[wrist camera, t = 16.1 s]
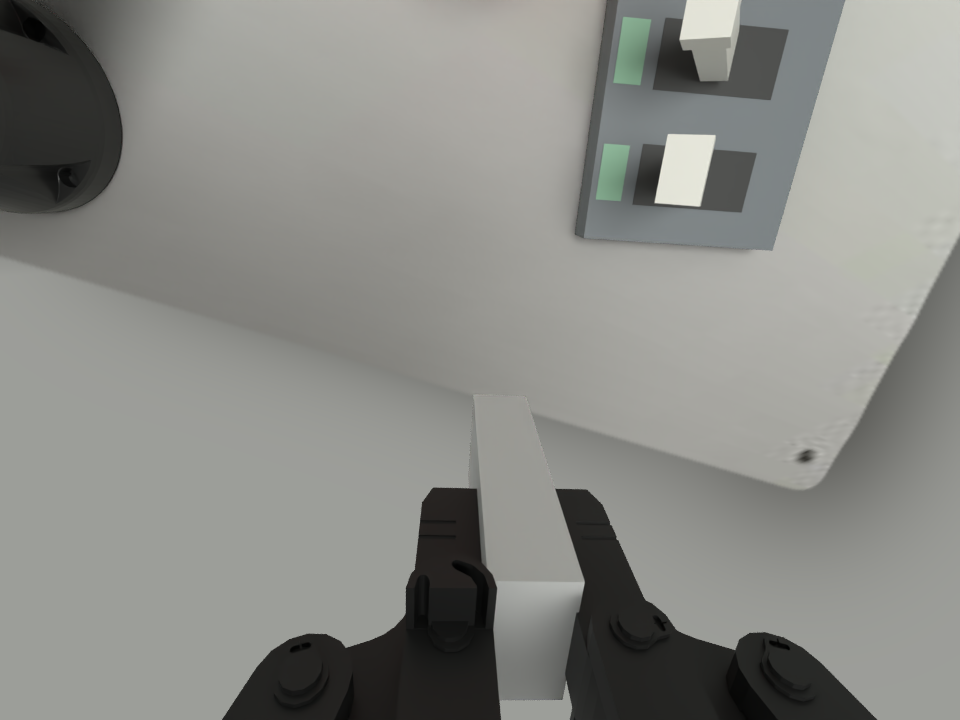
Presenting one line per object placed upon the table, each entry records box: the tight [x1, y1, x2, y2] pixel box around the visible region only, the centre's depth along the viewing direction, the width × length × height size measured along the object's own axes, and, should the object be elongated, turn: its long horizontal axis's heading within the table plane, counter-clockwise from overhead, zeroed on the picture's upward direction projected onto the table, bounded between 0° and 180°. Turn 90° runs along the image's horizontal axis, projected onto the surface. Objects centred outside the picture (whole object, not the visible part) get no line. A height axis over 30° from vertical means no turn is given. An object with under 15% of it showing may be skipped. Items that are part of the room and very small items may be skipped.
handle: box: [679, 0, 742, 81], centre depth 28 cm, size 2×4×12 cm
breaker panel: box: [575, 0, 845, 251], centre depth 35 cm, size 16×26×3 cm, turn 176°
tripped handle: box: [655, 134, 716, 207], centre depth 30 cm, size 2×4×12 cm, turn 176°
